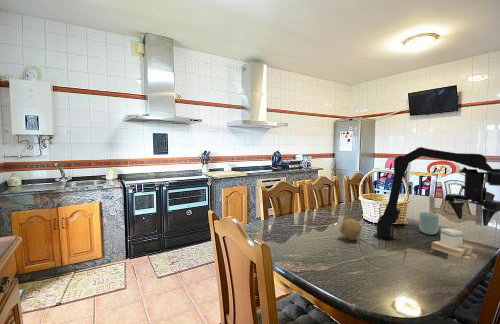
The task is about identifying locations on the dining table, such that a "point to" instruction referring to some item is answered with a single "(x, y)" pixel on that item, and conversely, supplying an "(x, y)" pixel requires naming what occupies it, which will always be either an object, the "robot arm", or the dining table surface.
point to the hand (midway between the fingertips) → (472, 222)
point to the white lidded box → (451, 237)
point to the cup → (428, 222)
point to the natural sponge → (350, 229)
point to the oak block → (452, 249)
